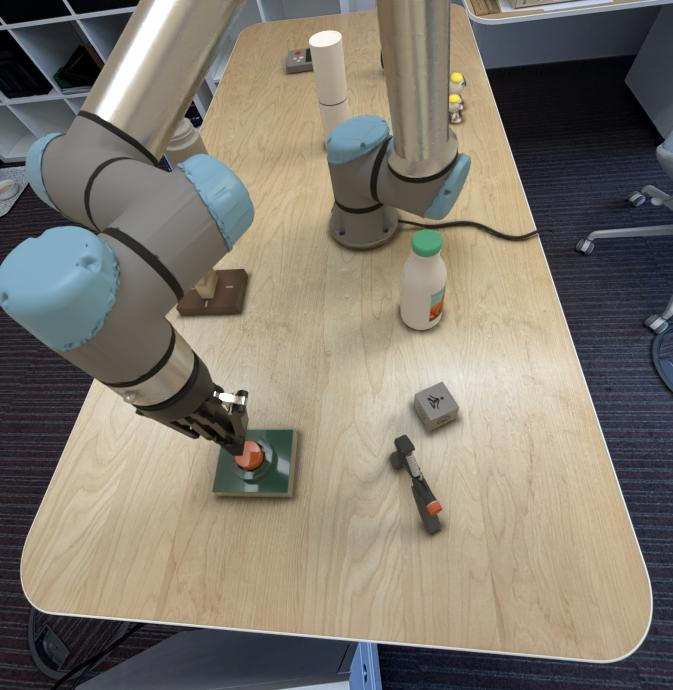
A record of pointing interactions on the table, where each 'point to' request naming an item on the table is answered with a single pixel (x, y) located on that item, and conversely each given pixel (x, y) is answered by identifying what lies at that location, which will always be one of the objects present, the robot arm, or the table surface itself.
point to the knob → (207, 285)
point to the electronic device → (299, 60)
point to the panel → (217, 296)
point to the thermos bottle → (184, 144)
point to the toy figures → (456, 97)
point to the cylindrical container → (330, 79)
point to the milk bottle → (423, 281)
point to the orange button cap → (250, 456)
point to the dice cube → (435, 406)
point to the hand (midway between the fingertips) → (239, 446)
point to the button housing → (260, 467)
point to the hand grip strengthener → (417, 484)
